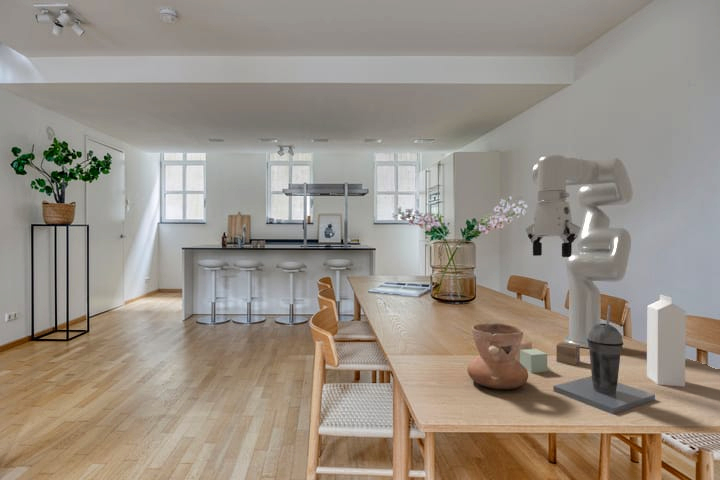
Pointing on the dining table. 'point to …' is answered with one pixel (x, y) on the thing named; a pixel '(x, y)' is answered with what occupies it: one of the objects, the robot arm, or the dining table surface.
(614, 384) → the beverage cup
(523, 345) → the peach rounded capsule
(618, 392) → the slate board
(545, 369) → the sage block
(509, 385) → the ceramic jug
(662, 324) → the milk
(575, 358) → the walnut block
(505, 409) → the dining table surface
